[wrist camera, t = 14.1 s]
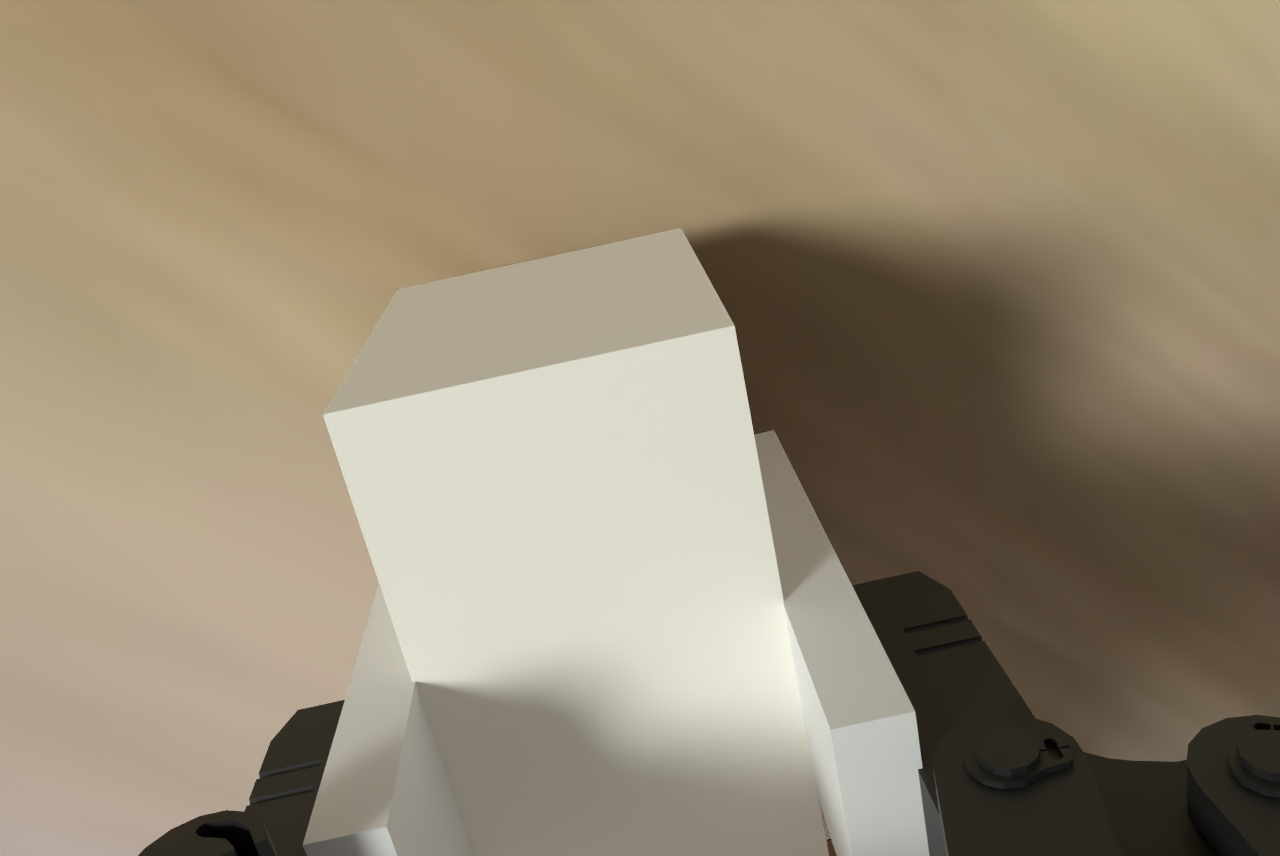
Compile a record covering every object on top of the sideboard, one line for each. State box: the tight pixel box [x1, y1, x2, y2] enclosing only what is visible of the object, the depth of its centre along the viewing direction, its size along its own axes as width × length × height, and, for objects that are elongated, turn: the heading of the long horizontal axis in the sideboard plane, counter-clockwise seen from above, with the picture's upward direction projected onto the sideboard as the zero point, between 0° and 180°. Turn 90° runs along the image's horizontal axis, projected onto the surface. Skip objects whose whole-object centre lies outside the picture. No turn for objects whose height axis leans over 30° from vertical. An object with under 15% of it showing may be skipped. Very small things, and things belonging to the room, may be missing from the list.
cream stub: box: [323, 228, 829, 856], centre depth 14 cm, size 10×4×5 cm, turn 12°
